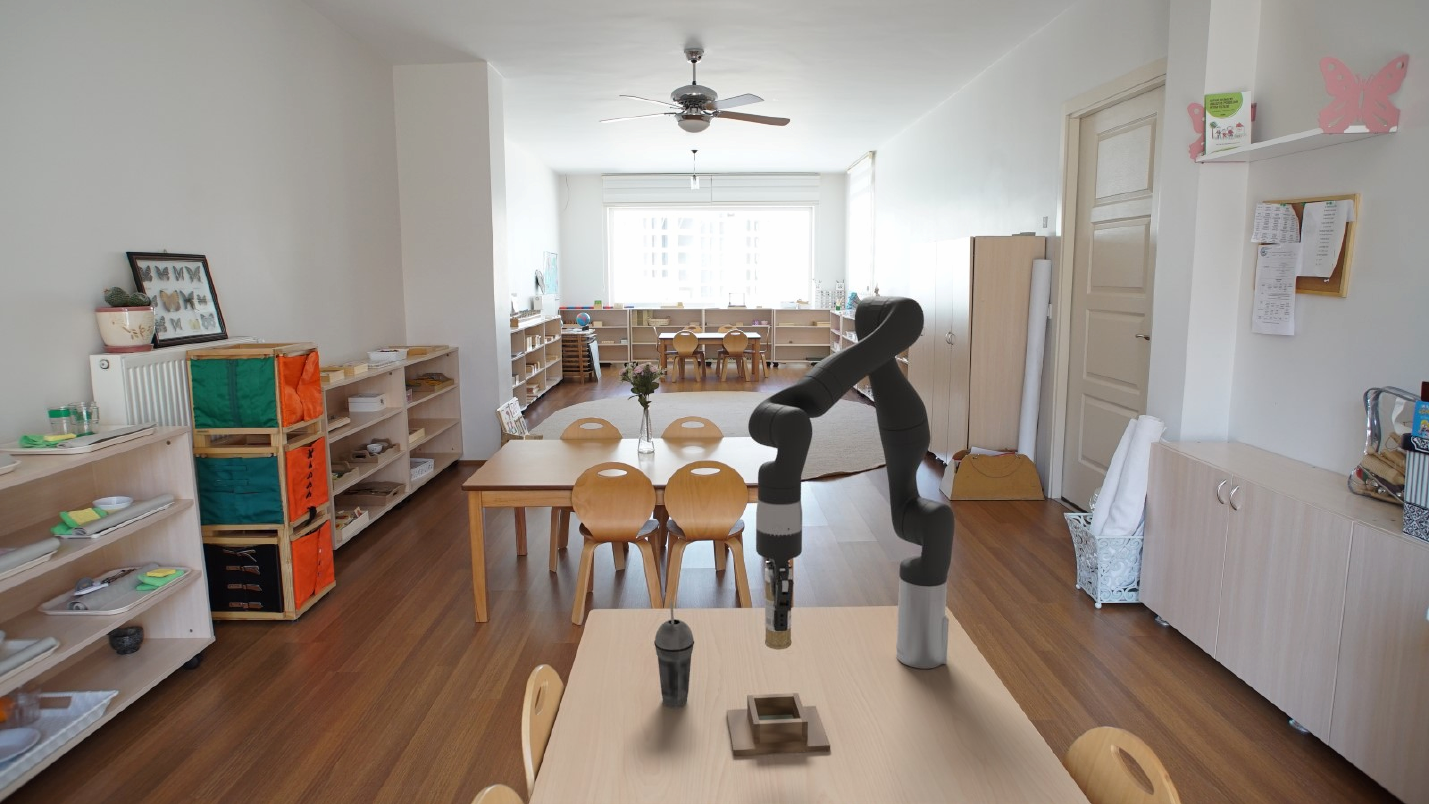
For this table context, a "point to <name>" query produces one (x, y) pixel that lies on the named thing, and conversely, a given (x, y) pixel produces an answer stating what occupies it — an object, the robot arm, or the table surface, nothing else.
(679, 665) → the beverage cup
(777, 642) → the sprinkles bottle
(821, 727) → the wooden square holder
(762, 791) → the table surface
